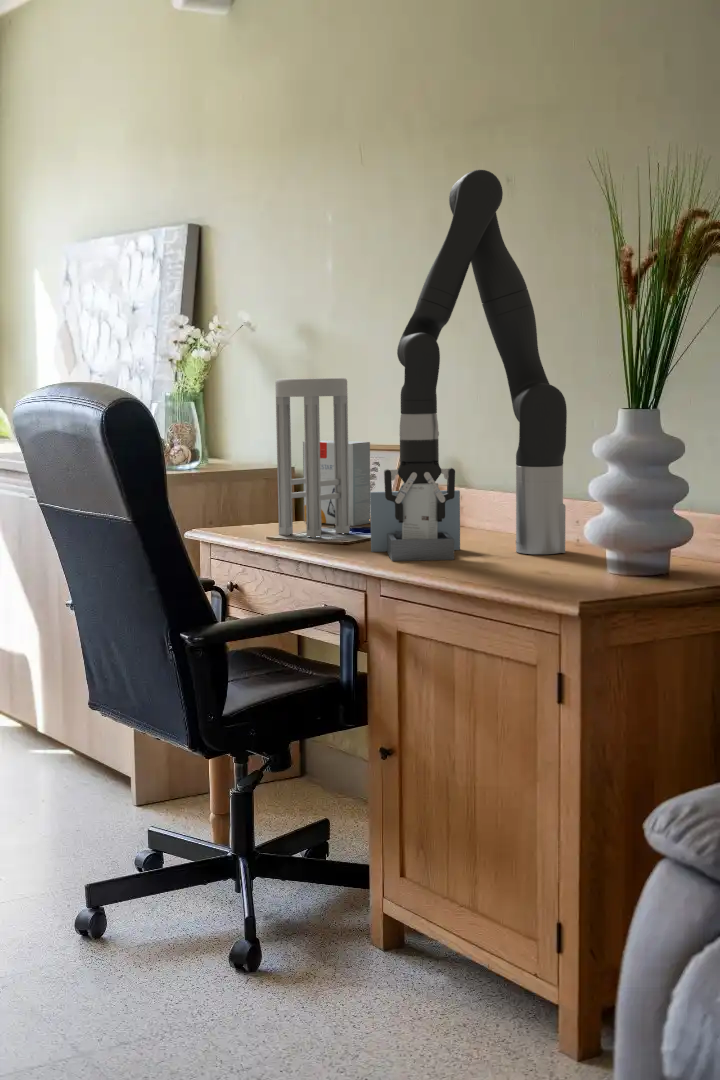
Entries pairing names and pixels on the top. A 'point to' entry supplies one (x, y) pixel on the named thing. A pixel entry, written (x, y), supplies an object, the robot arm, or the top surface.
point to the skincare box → (420, 512)
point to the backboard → (387, 523)
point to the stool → (312, 453)
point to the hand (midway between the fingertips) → (420, 521)
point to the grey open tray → (420, 547)
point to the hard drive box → (357, 481)
